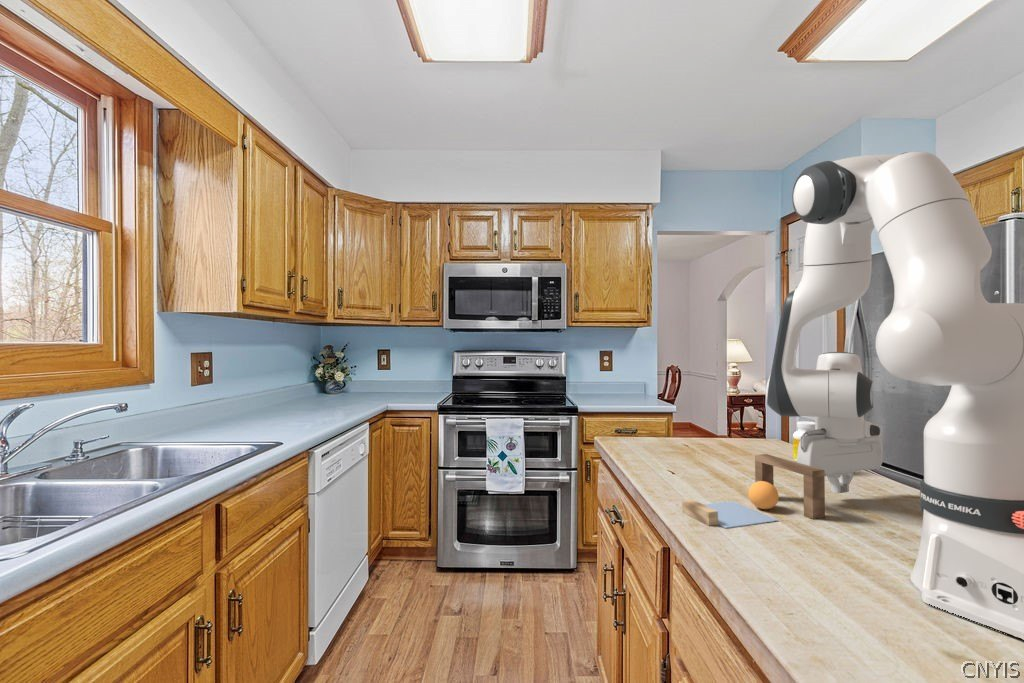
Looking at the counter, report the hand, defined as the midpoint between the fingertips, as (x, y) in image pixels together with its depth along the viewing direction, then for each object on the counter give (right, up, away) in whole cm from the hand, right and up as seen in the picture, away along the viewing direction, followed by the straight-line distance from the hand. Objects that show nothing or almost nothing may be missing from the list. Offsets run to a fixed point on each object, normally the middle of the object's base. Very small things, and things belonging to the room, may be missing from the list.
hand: (840, 492), depth 107 cm
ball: (-19, +1, -5) cm, 20 cm away
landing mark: (-27, -2, -8) cm, 29 cm away
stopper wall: (-34, -2, -10) cm, 36 cm away
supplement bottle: (+7, -2, +23) cm, 24 cm away
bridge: (-13, -2, -4) cm, 14 cm away
